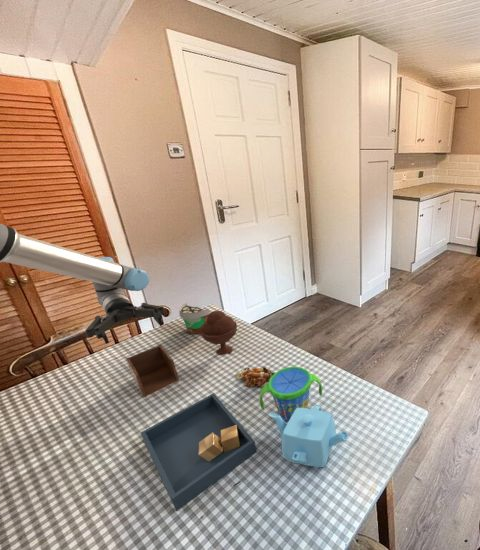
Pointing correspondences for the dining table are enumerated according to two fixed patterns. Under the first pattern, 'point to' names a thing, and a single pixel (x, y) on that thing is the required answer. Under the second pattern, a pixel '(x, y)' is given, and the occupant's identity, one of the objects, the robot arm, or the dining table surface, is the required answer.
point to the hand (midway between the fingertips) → (134, 330)
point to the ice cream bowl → (219, 331)
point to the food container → (194, 318)
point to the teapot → (308, 436)
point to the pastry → (255, 376)
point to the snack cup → (290, 390)
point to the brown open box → (152, 370)
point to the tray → (194, 449)
